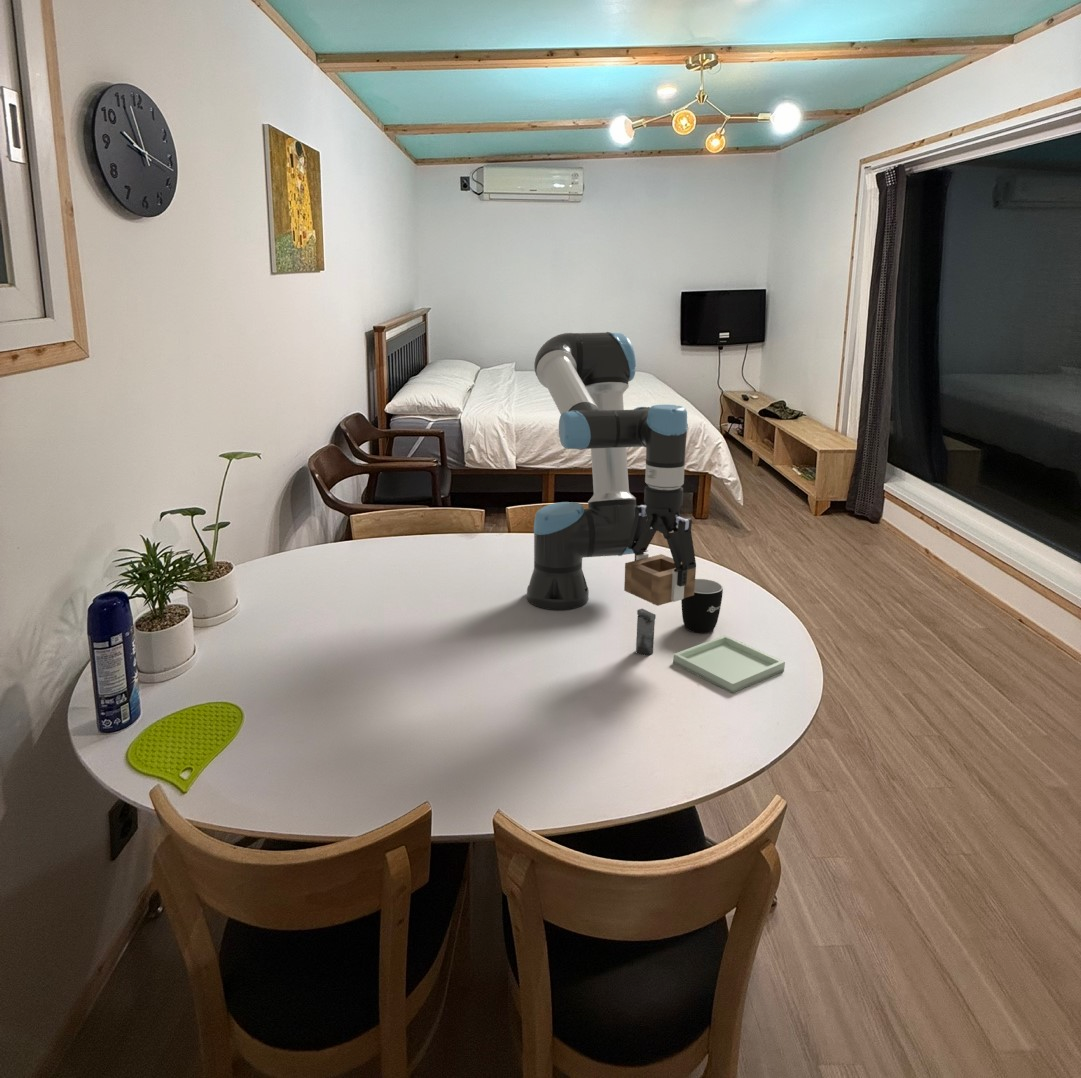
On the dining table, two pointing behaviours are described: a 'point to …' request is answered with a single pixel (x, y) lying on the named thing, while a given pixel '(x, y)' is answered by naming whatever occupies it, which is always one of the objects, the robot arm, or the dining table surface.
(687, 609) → the mug
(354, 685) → the dining table surface
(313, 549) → the dining table surface
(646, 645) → the dark grey upright block
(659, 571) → the wooden open box
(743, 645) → the tray
